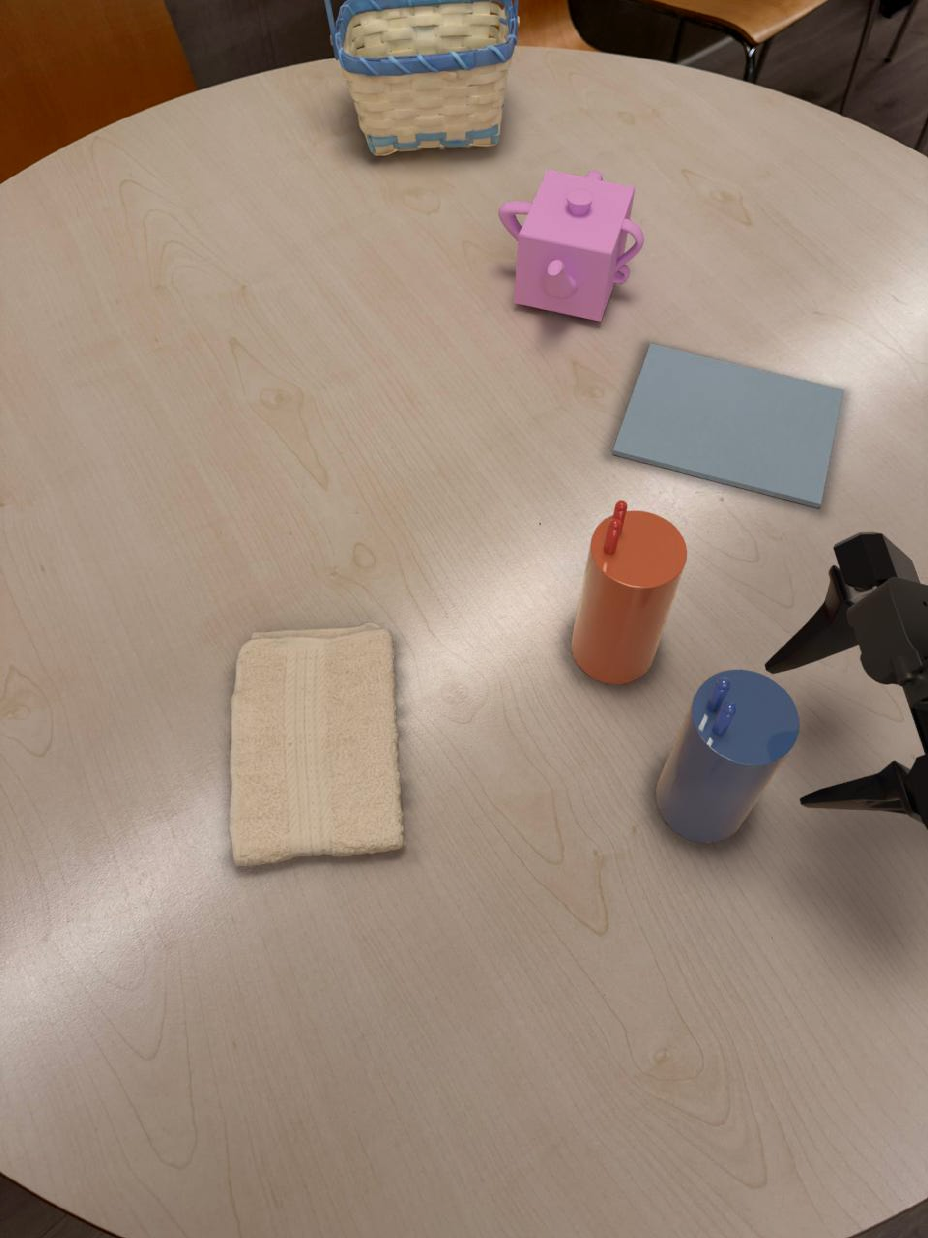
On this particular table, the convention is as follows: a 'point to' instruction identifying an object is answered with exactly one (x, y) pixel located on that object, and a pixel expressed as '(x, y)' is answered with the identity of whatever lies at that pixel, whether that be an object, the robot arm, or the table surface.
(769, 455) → the blue mat
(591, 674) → the red spoon jar
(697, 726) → the blue spoon jar
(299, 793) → the washcloth
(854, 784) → the robot arm
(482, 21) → the basket
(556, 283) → the teapot
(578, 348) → the table surface
